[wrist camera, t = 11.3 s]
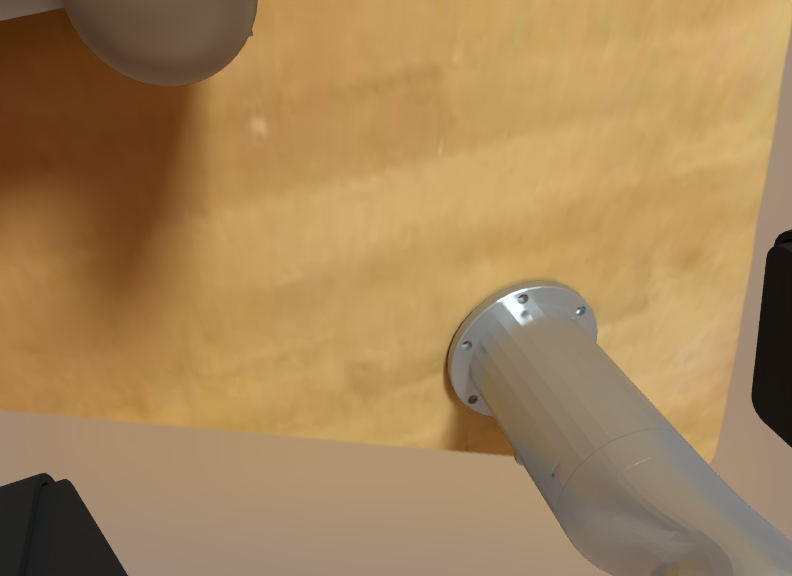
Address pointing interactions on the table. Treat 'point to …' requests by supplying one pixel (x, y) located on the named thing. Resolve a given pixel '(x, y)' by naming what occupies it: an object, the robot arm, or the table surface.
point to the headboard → (154, 34)
